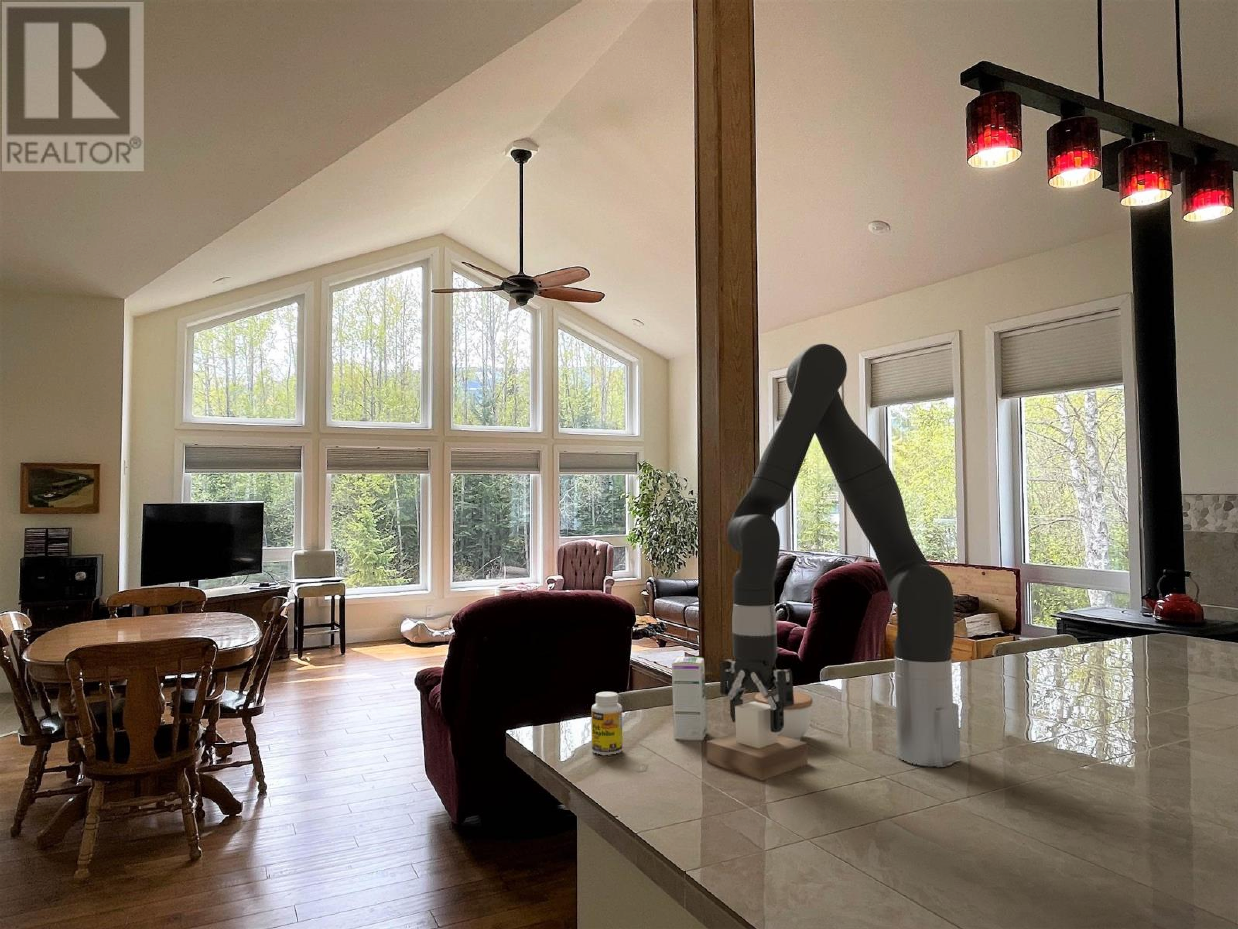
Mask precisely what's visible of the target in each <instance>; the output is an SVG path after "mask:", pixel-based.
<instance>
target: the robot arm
mask: <svg viewBox="0 0 1238 929" xmlns="http://www.w3.org/2000/svg"><path fill="white" fill-rule="evenodd" d="M847 371H848V365H847V360H846V358H845V356H844V355H843V353H842V352H841V350H839V349H838V348H837V347H835V346H834V345H832V344H827V343H817V344H813V345H812V346H809V347H807V348H805V349H804V350H803V351H802V352H800V354H799V355H798V356H797V357H796V358H795V359H794V360H793V361H791V363H790V364H789V365H788V368H787V371H786V376H785V377H786V380H785V381H786V383H787V389H788V391H789V393H790V395H791V397H790V399H789V402H788V404H787V405H788V406H787V407H786V409H785V411H784V414H783V416H782V419H781V420H780V422H779V424H778V426H777V427H776V430H775V431H774V433H773V435H772V437H771V439H770V440H769V442H768V444H767V446H766V448H765V449H764V451H763V454H762V456H761V458H760V460H759V463H758V464H757V465H758V466H757V468H756V470H755V473H754V475H753V478H752V480H751V483H750V486H749V488H748V489H747V491H746V493H745V495H744V496H743V497H742V499H741V501H739V504H738V505H737V507H736V508H735V510H734V511H733V513H732V516H731V517H730V520H729V522H728V526H727V529H726V539H727V542H728V544H729V546H730V547H731V548H732V550H734V551H735V552H737V553H739V554H741V560H740V567H739V568H740V569H738V570H737V571H736V572H735V573H734V575H733V580H732V588H733V590H732V593H733V594H732V596H733V597H732V598H733V599H732V600H733V601H732V602H733V606H732V607H733V608H732V615H731V616H732V619H731V622H732V627H731V628H732V633H731V634H732V655H733V656H732V657H733V658H734V659H735V660H734V659H733V658H730V659H724V660H722V661H720V678H719V679H720V681H719V683H720V684H719V691H720V694H721V695H722V696H723V695H725V696H726V697H727V698H728V700H729V711H730V714H729V715H730V718H731V721H732V722H733V723H735V706H738V705H742V704H744V699H743V698H742V697H743V695H744V694H745V693H746V691H753V692H755V693H760V692H761V694H762V696H763V697H764V698H765V699H766V700H767V701H768V703H769V705H770V707H771V710H770V727H771V732H775V733H776V732H780V731H781V730H782V728H783V727H784V708H785V707H789V706H792V705H794V695H793V691H794V685H793V684H794V681H793V672H792V670H791V669H790V668H787V669H778V668H777V665H776V660H777V657H778V631H777V628H778V625H777V612H776V607H775V606H776V605H775V599H776V598H775V582H774V581H775V580H774V579H775V575H776V571H777V566H778V561H779V556H780V555H779V554H780V548H781V536H780V532H779V528H778V525H777V524H776V522H775V521H774V520H773V517H774V515H775V513H776V512H777V511H778V510H779V509H781V508H783V507H784V506H785V505H787V503H788V502H789V498H790V497H791V494H792V492H793V489H794V487H795V484H796V481H797V479H798V476H799V474H800V471H801V469H802V466H803V464H804V461H805V459H806V456H807V454H808V450H809V447H810V445H811V443H812V441H813V438H814V436H816V439H817V441H818V443H819V446H820V448H821V450H822V452H823V454H824V455H823V456H825V459H826V461H827V463H828V465H829V468H830V469H831V472H832V473H833V476H834V479H835V480H836V481H835V482H837V485H838V487H839V489H840V491H841V494H842V496H843V498H844V499H845V502H846V504H847V506H848V508H849V509H850V511H851V513H852V514H853V516H854V518H855V520H856V522H857V524H858V525H859V527H860V529H861V531H862V532H863V533H864V535H865V537H866V538H867V540H868V542H869V543H870V545H871V547H872V550H873V551H874V554H875V556H876V559H877V561H878V564H879V567H880V569H881V572H882V575H883V578H884V580H885V583H886V587H887V590H888V593H889V596H890V598H891V600H892V601H893V603H894V604H895V605H896V618H897V622H896V623H897V631H896V636H895V640H894V643H893V645H894V646H893V648H894V654H893V655H894V682H895V683H894V684H895V685H894V687H895V689H894V690H895V718H896V721H895V722H896V723H895V724H896V748H897V750H896V751H897V757H898V758H899V759H900V760H901V761H903V760H904V761H903V762H905V761H906V762H905V763H909V764H912V763H913V764H912V765H916V764H917V765H918V766H924V767H933V766H937V767H936V768H939V767H945V766H947V765H948V764H950V763H953V762H955V761H956V760H959V759H960V760H961V749H960V748H961V747H960V746H961V744H960V719H959V714H960V713H959V705H958V703H955V702H954V697H953V696H954V694H953V692H954V691H953V670H952V669H953V667H952V648H953V646H954V642H955V641H954V640H955V600H954V590H953V586H952V583H951V580H950V579H949V577H948V576H947V575H946V574H945V573H944V572H943V571H942V570H941V569H939V568H937V567H934V566H932V565H931V564H930V563H929V561H928V560H927V558H926V557H925V555H924V554H923V551H922V550H921V548H920V546H919V544H918V543H917V541H916V539H915V538H914V535H913V533H912V530H911V527H910V525H909V521H908V517H907V513H906V509H905V508H906V507H905V504H904V500H903V497H902V494H901V491H900V487H899V486H898V483H897V481H896V479H895V476H894V474H893V472H892V469H891V468H890V466H889V464H888V462H887V460H886V458H885V456H884V455H883V453H882V452H881V450H880V449H879V448H878V446H877V445H876V444H875V443H874V442H873V441H872V440H871V439H870V438H869V436H868V435H867V434H865V432H864V431H863V430H862V429H861V428H860V427H859V426H858V425H857V424H856V422H855V421H854V420H853V419H852V416H851V415H850V413H849V412H848V410H847V408H846V406H845V403H844V401H843V399H842V396H841V394H840V392H839V389H840V388H841V387H842V385H843V384H844V382H845V380H846V377H847V373H848V372H847ZM735 673H736V674H735ZM735 676H736V678H735ZM775 700H776V701H775ZM917 765H916V766H917ZM947 767H948V766H947ZM945 768H946V767H945Z"/></svg>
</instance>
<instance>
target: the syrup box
mask: <svg viewBox="0 0 1238 929" xmlns="http://www.w3.org/2000/svg"><path fill="white" fill-rule="evenodd" d="M705 676H706V672H705V658H704V657H700V656H678V657H677V656H676V657H675V659H674V660H673V661H672V663H671V678H672V679H671V680H672V682H671V683H672V684H671V686H672V712H673V713H672V714H673V716H672V717H673V723H672V724H673V739H675V740H681V741H682V740H683V741H704V739H705V737H706V734H707V730H708V729H707V704H706V703H707V702H706V699H707V698H706V683H705V682H706V677H705Z"/></svg>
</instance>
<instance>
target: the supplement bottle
mask: <svg viewBox="0 0 1238 929" xmlns="http://www.w3.org/2000/svg"><path fill="white" fill-rule="evenodd" d="M590 712H591V714H590V715H591V716H590V717H591V721H590V722H591V723H590V724H591V751H592V753H594V754H595V753H598V754H604V755H603V756H606V755H608V756H611V755H610V754H615V755H617V754H616V753H618V754H620V753H621V752H622V750H623V706H622V705H621V703H619V697H618V693H617V692H615V691H600V692H597V693H596V694H595V703H594V704H592V706H591V711H590ZM598 754H597V755H598Z"/></svg>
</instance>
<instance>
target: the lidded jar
mask: <svg viewBox="0 0 1238 929" xmlns="http://www.w3.org/2000/svg"><path fill="white" fill-rule="evenodd" d="M793 695H794V705H792V706H789V707H785V708H784V727H783V728H782V730H781V731H780V732H778V735H780V736H783V737H787V738H791V739H795V740H799V741H802V737H803V736H805V734H806V733H807V732H808V730H809V729H810V726H811V724H812V722H811V721H812V718H813V716H812V715H813V697H812V696H811V695H810V694H807V693H804V692H799V691H795V690H793ZM754 701H755V702H759V703H764V704H768V705H769V703H768V701H767V700H766V699H765V698H764V697H763V696H762V694H761V692H757V693H756V694H755V695H754ZM775 701H776V700H775Z"/></svg>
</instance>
